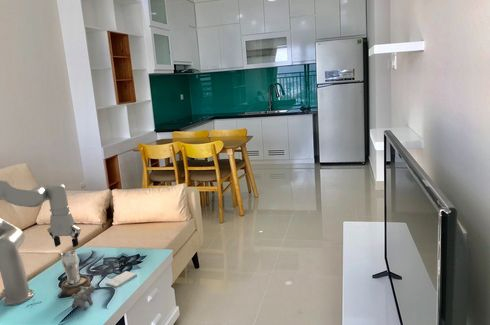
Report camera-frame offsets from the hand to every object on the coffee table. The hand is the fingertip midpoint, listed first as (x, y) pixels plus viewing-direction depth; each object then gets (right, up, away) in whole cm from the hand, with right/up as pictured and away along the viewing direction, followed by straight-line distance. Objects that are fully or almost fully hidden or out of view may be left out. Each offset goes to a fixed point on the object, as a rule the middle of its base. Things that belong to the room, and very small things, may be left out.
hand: (66, 245), depth 189 cm
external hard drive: (+23, -19, +9) cm, 31 cm away
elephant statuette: (+13, -24, -10) cm, 29 cm away
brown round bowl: (+3, -21, +5) cm, 22 cm away
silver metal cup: (+2, -18, +4) cm, 19 cm away
